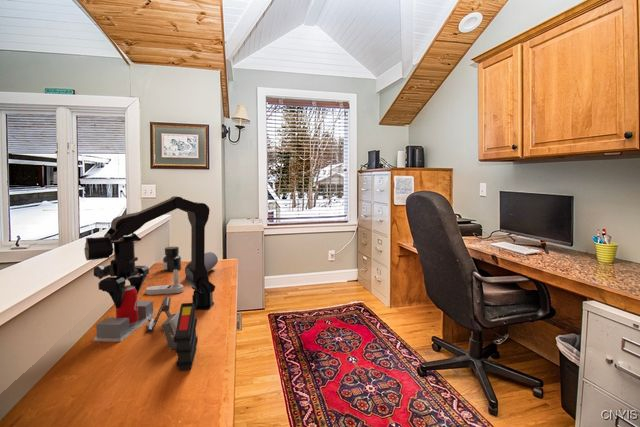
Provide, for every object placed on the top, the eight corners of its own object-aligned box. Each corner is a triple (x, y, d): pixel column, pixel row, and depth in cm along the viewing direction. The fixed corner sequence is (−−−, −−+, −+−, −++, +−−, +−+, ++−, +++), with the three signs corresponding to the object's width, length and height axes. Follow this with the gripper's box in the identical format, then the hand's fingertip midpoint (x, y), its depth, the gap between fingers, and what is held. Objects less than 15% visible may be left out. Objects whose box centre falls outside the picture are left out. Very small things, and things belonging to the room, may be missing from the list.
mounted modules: (153, 311, 121) (152, 301, 120) (120, 337, 101) (119, 324, 101) (133, 311, 121) (133, 300, 120) (96, 337, 101) (96, 324, 101)
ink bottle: (166, 267, 186) (165, 246, 185) (182, 267, 188) (182, 245, 187) (161, 272, 177) (160, 249, 175) (179, 271, 178) (178, 249, 177)
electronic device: (147, 270, 146) (183, 268, 148) (148, 292, 147) (184, 289, 149) (142, 273, 141) (180, 271, 143) (144, 296, 142) (181, 293, 144)
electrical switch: (182, 351, 95) (178, 319, 94) (164, 353, 95) (159, 321, 94) (193, 336, 105) (189, 307, 104) (176, 338, 104) (172, 309, 103)
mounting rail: (155, 314, 121) (155, 311, 121) (121, 341, 100) (121, 338, 100) (133, 313, 121) (133, 311, 121) (94, 341, 100) (94, 338, 100)
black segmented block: (199, 338, 99) (195, 301, 92) (194, 380, 88) (189, 342, 81) (185, 339, 98) (180, 302, 91) (178, 382, 87) (172, 343, 80)
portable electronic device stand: (149, 322, 115) (148, 298, 114) (174, 319, 117) (174, 295, 117) (146, 333, 106) (145, 307, 106) (173, 329, 109) (173, 304, 108)
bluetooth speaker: (202, 269, 184) (201, 250, 183) (218, 269, 184) (218, 251, 183) (183, 281, 162) (183, 260, 161) (202, 281, 161) (202, 261, 160)
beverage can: (142, 319, 114) (140, 284, 113) (132, 327, 108) (130, 290, 107) (123, 319, 114) (121, 284, 113) (112, 327, 108) (110, 290, 107)
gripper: (116, 249, 118) (119, 293, 120) (78, 262, 99) (81, 313, 101) (148, 249, 118) (150, 293, 120) (116, 262, 99) (119, 314, 101)
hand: (126, 302), depth 110 cm, fingers open, 9 cm apart
